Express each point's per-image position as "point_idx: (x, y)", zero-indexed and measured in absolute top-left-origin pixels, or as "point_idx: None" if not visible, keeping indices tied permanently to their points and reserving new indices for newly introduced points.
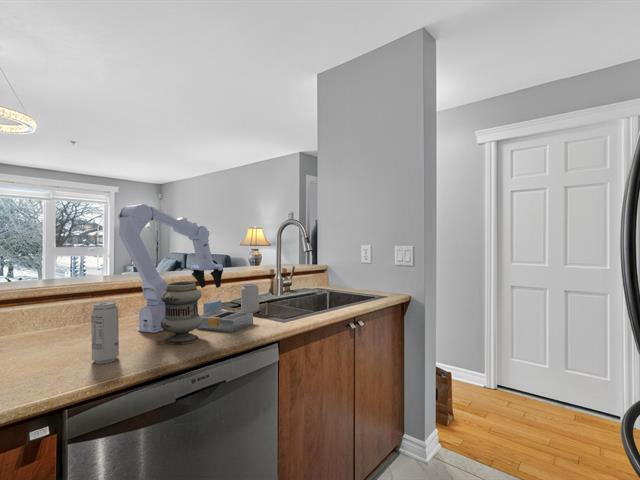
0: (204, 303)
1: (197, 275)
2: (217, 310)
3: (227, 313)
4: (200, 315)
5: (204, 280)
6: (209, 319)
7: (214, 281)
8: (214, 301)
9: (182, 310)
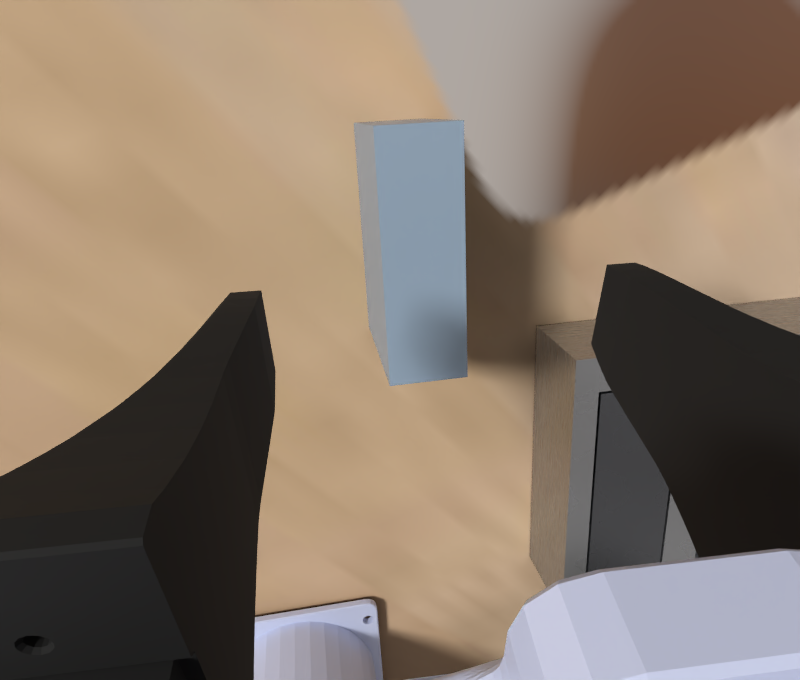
0: (404, 383)
1: (251, 667)
2: (593, 380)
3: None
4: (572, 572)
5: (240, 355)
6: None
7: (652, 457)
8: (431, 234)
9: None
